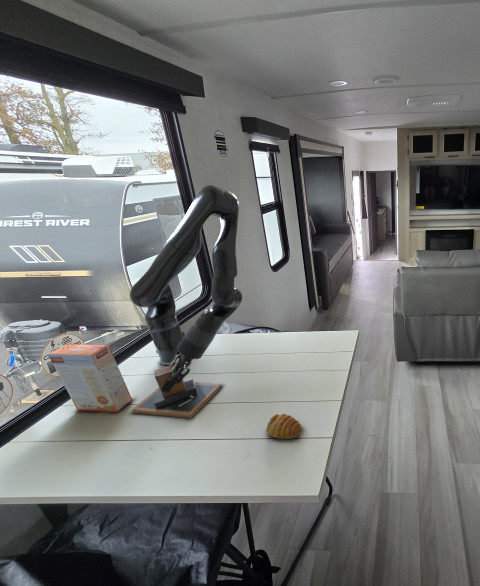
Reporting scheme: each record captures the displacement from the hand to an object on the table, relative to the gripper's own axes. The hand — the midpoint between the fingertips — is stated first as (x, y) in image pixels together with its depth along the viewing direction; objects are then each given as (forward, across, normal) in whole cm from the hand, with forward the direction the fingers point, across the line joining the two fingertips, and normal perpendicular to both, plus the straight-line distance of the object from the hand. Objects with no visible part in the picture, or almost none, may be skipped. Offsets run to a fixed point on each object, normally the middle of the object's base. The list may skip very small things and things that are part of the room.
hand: (164, 387), depth 96 cm
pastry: (-13, -35, -22) cm, 43 cm away
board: (+2, -1, -6) cm, 6 cm away
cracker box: (+16, +12, +8) cm, 21 cm away
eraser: (+2, 0, -5) cm, 5 cm away
